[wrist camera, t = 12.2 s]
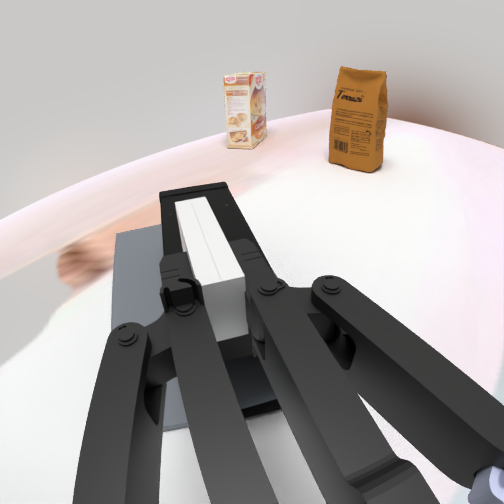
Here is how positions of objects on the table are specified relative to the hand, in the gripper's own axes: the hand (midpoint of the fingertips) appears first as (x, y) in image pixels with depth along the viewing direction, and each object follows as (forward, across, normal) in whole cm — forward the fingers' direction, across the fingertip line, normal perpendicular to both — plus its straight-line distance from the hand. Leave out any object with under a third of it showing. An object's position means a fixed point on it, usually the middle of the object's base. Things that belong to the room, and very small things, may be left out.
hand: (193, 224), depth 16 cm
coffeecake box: (+69, +24, -15) cm, 75 cm away
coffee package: (+43, +41, -15) cm, 62 cm away
